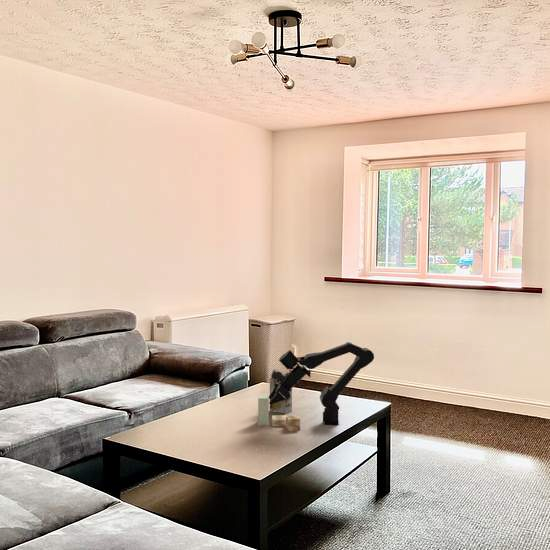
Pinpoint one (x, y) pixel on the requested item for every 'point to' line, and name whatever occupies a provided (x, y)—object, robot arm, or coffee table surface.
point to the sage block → (263, 410)
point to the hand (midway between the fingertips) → (269, 401)
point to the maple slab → (279, 420)
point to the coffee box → (283, 405)
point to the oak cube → (293, 422)
